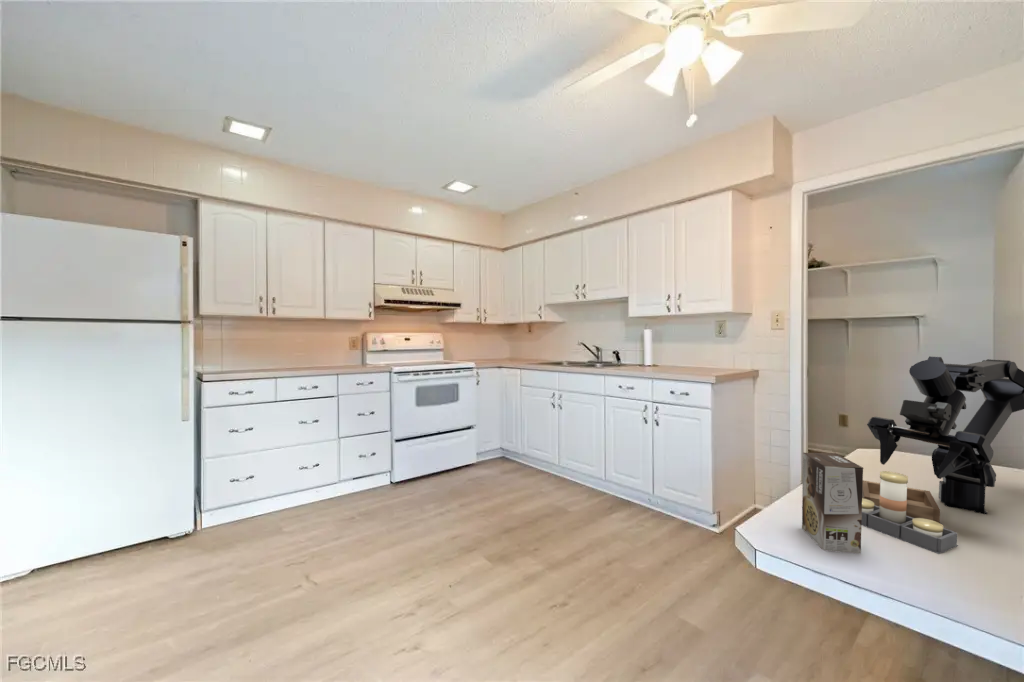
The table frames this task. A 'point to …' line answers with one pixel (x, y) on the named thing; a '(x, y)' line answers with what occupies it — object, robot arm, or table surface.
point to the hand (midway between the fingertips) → (908, 470)
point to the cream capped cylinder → (893, 496)
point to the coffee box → (832, 501)
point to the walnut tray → (917, 501)
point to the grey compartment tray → (910, 532)
